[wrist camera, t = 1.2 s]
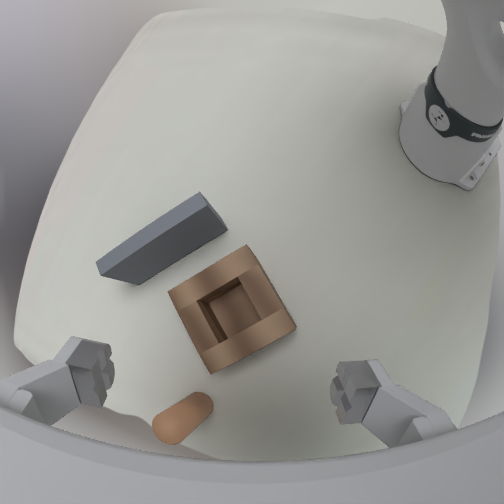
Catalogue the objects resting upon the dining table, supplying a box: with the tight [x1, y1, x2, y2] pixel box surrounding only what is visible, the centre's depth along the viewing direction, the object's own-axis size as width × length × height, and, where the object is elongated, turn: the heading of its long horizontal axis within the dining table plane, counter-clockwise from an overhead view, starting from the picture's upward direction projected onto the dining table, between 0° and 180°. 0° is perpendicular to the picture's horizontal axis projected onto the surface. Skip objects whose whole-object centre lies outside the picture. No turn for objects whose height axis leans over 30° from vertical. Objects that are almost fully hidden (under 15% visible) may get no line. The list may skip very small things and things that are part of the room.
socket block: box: [168, 244, 297, 375], centre depth 37 cm, size 11×11×7 cm
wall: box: [96, 192, 228, 285], centre depth 39 cm, size 16×2×10 cm, turn 119°
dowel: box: [152, 392, 213, 445], centre depth 34 cm, size 4×4×11 cm
